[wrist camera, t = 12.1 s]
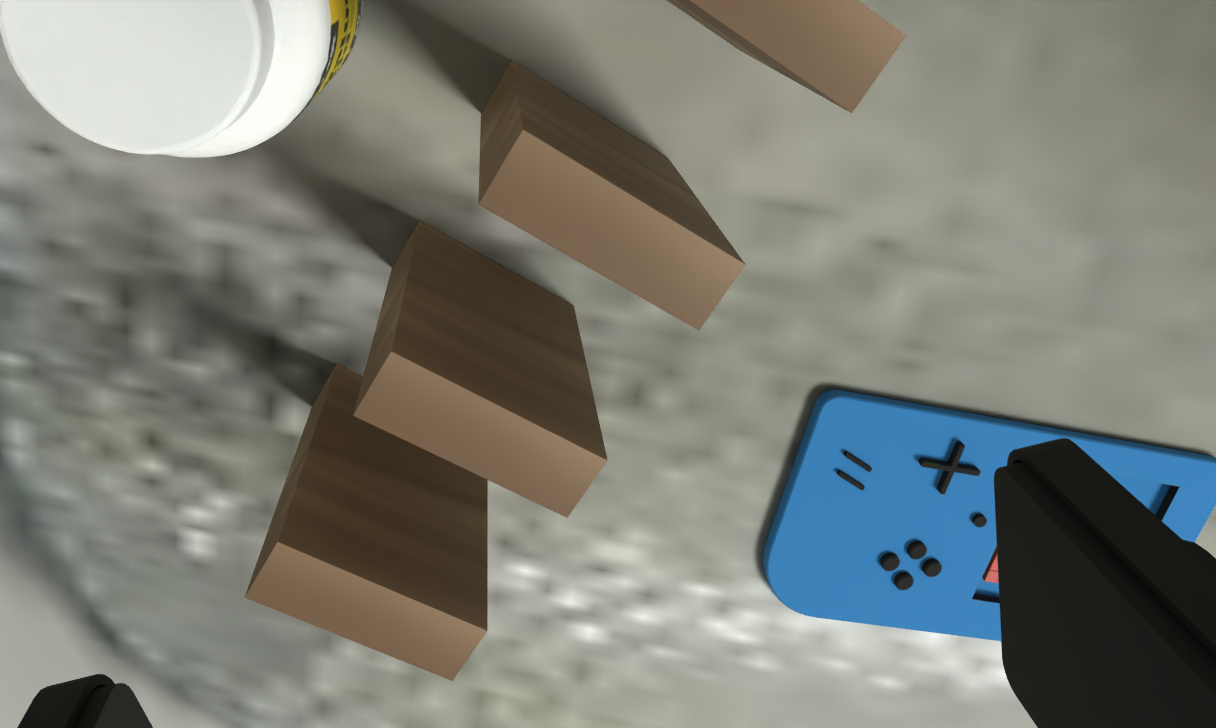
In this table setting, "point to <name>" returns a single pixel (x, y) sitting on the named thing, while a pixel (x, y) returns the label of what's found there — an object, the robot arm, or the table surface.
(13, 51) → the supplement bottle
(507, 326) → the walnut domino
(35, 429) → the table surface
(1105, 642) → the robot arm
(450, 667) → the walnut domino
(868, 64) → the walnut domino
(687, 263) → the walnut domino
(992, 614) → the handheld gaming device
